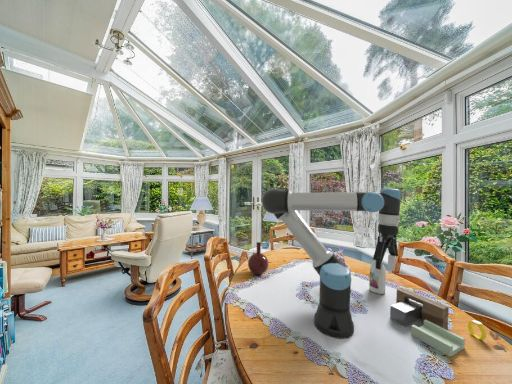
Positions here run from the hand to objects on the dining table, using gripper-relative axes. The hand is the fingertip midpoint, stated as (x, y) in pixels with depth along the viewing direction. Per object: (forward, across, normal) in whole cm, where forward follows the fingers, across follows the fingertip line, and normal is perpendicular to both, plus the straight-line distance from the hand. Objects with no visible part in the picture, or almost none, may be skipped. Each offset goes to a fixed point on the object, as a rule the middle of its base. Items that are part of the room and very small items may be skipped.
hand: (385, 273), depth 92 cm
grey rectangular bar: (+20, +10, -7) cm, 23 cm away
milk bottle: (+20, +25, +12) cm, 34 cm away
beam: (+19, +14, -10) cm, 26 cm away
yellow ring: (+19, +16, -27) cm, 37 cm away
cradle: (+19, +1, -18) cm, 27 cm away
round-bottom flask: (+22, -14, +68) cm, 73 cm away
